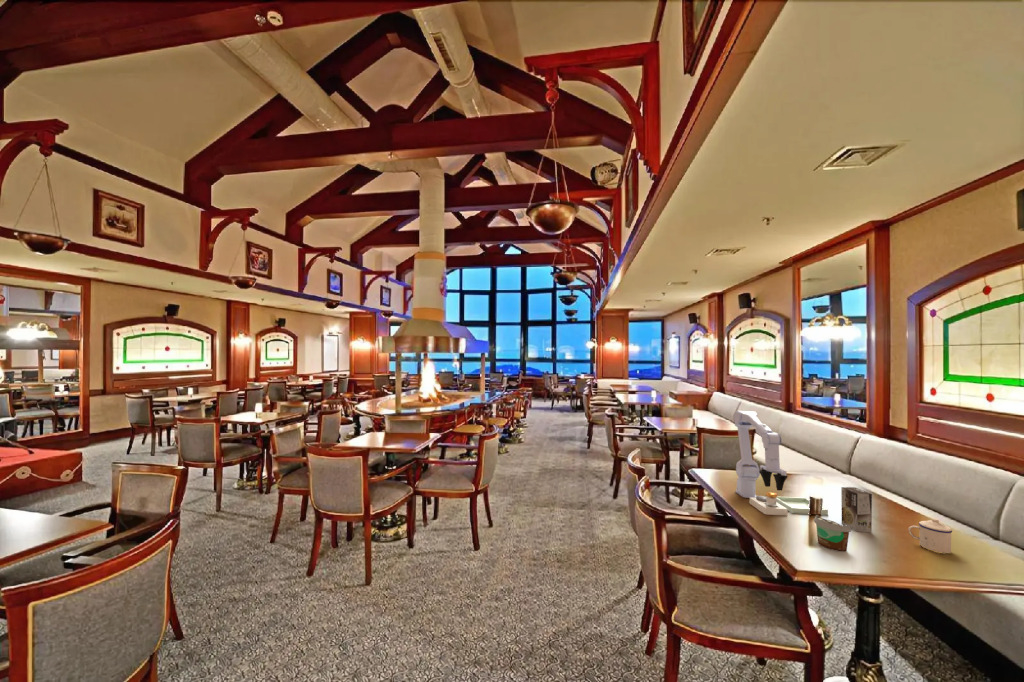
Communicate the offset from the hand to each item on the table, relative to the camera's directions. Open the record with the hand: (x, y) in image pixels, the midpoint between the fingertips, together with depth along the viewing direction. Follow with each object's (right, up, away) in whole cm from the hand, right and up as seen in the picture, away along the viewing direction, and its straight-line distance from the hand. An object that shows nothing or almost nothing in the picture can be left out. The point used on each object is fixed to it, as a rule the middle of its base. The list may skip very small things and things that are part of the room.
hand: (773, 488), depth 194 cm
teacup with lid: (+41, -12, -32) cm, 53 cm away
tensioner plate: (0, -12, +4) cm, 12 cm away
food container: (0, -11, -34) cm, 36 cm away
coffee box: (+27, -12, -14) cm, 33 cm away
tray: (+17, -12, +7) cm, 22 cm away
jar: (0, -12, +1) cm, 12 cm away
